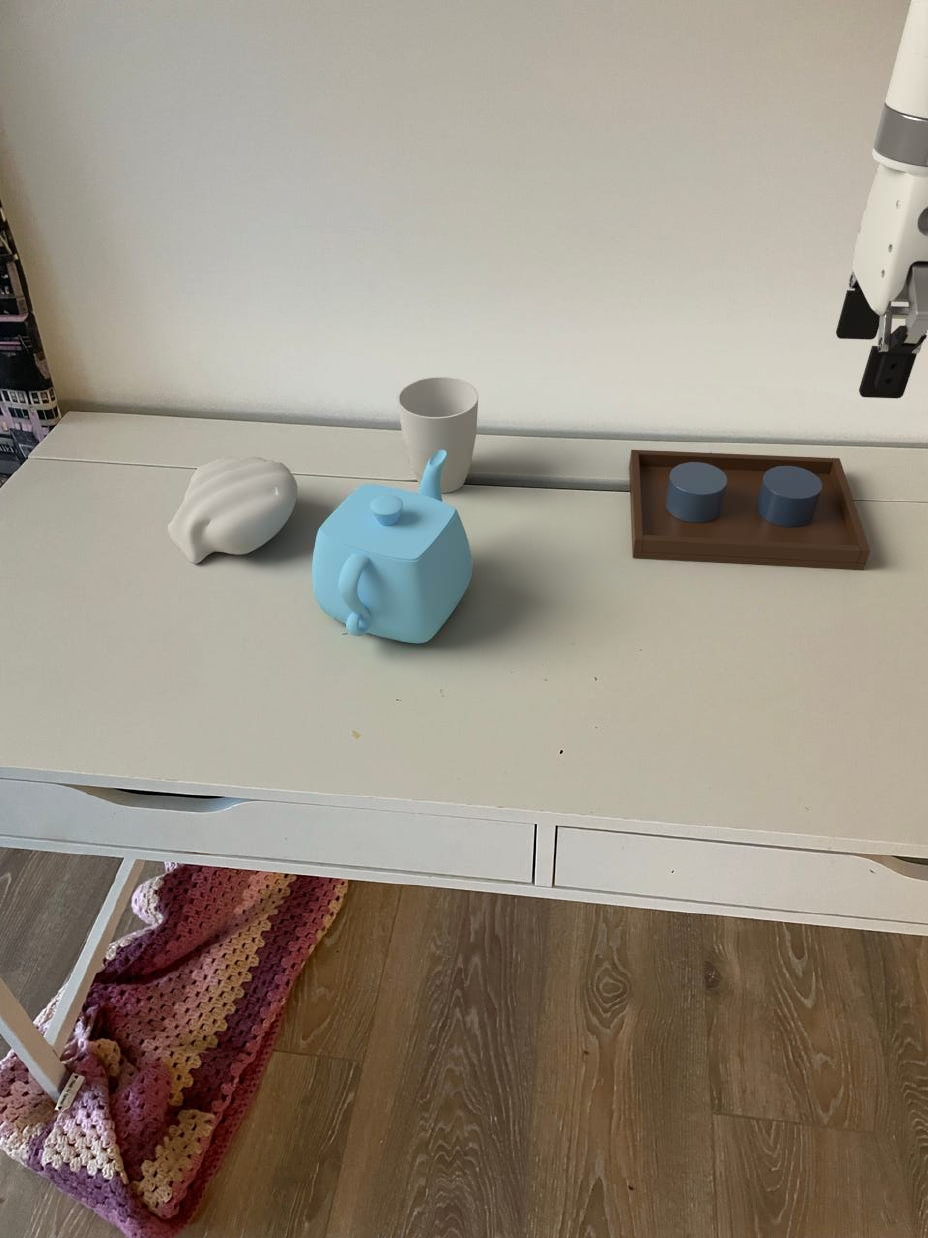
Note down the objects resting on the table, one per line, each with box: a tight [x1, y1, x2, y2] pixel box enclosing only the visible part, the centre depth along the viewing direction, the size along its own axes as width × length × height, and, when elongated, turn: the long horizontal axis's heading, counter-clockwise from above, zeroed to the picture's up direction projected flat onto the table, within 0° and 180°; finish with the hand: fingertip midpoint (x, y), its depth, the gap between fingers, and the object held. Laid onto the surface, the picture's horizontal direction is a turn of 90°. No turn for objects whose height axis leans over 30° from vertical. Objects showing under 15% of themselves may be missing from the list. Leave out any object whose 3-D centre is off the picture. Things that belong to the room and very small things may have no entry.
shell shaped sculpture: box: [167, 456, 298, 565], centre depth 93 cm, size 13×13×6 cm
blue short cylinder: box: [665, 462, 727, 523], centre depth 94 cm, size 6×6×4 cm
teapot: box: [311, 450, 473, 644], centre depth 83 cm, size 12×18×12 cm
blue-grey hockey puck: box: [756, 466, 822, 527], centre depth 93 cm, size 6×6×4 cm
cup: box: [396, 376, 479, 494], centre depth 97 cm, size 8×8×10 cm
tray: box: [628, 449, 871, 571], centre depth 94 cm, size 22×16×2 cm
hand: (866, 365), depth 76 cm, fingers open, 9 cm apart
